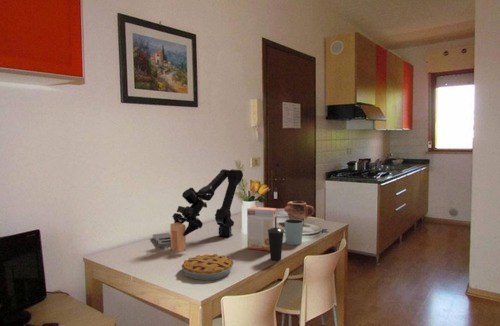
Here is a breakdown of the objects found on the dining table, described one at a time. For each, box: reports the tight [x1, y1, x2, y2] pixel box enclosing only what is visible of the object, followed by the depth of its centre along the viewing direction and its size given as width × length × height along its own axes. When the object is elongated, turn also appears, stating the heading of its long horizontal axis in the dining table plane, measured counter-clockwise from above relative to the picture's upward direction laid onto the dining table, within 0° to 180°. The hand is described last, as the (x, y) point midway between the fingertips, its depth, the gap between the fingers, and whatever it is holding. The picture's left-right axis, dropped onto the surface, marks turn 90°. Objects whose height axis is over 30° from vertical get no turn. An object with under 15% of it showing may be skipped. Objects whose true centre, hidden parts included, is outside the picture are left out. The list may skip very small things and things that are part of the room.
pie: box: [181, 253, 235, 281], centre depth 156 cm, size 22×22×5 cm
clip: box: [169, 222, 187, 253], centre depth 185 cm, size 7×4×13 cm, turn 48°
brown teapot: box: [283, 200, 315, 222], centre depth 239 cm, size 20×12×14 cm, turn 72°
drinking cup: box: [268, 216, 285, 262], centre depth 170 cm, size 8×8×20 cm
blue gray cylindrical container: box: [284, 218, 305, 246], centre depth 196 cm, size 10×10×12 cm
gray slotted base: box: [152, 232, 171, 249], centre depth 199 cm, size 20×9×2 cm, turn 25°
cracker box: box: [246, 206, 277, 252], centre depth 186 cm, size 14×6×21 cm, turn 69°
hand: (178, 234), depth 185 cm, fingers open, 9 cm apart
